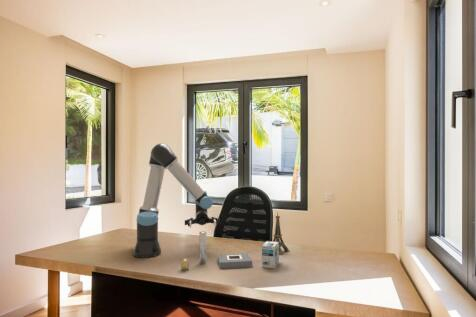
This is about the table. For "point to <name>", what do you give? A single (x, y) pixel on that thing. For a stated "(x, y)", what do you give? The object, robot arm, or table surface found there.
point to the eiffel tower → (278, 235)
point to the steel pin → (202, 247)
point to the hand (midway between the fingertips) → (202, 224)
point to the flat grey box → (234, 260)
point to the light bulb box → (270, 254)
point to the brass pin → (184, 264)
